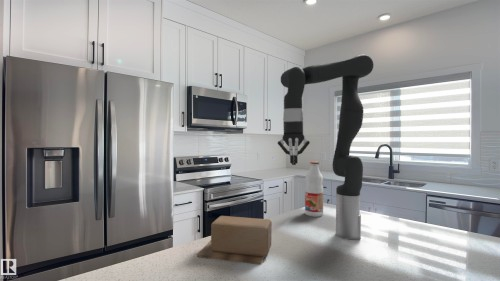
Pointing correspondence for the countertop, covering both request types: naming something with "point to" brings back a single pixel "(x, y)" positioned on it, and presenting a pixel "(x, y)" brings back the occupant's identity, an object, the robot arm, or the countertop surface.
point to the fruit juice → (314, 191)
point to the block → (241, 235)
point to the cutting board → (228, 256)
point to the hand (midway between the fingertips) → (293, 164)
